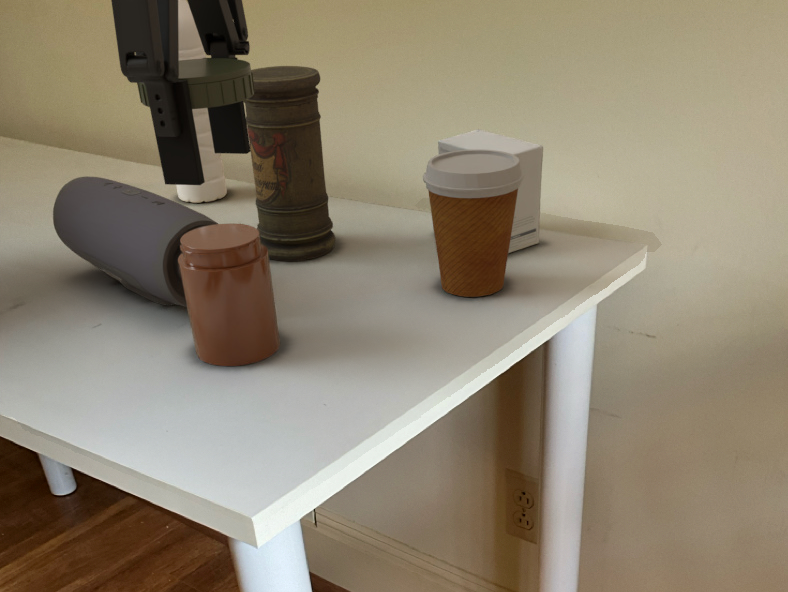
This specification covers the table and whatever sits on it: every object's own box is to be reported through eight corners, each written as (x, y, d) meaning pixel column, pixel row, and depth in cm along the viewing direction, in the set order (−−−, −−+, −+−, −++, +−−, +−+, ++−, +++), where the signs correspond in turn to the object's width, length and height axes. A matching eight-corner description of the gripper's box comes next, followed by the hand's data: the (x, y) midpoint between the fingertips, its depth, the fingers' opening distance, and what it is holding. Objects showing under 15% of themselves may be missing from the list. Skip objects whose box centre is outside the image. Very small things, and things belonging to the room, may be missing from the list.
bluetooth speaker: (252, 305, 88) (237, 202, 82) (171, 334, 83) (148, 227, 77) (138, 253, 101) (118, 161, 95) (62, 276, 97) (36, 180, 91)
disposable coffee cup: (495, 310, 85) (498, 179, 77) (408, 294, 89) (404, 169, 81) (534, 276, 91) (540, 153, 84) (451, 263, 95) (450, 144, 88)
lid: (271, 87, 65) (268, 58, 64) (226, 110, 59) (222, 79, 58) (173, 86, 67) (168, 57, 66) (120, 109, 61) (113, 78, 60)
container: (310, 229, 106) (293, 61, 95) (351, 248, 100) (338, 71, 89) (243, 247, 102) (217, 72, 91) (282, 267, 96) (259, 84, 85)
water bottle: (178, 205, 116) (136, -20, 101) (178, 191, 121) (138, -24, 106) (245, 199, 117) (213, -24, 102) (242, 185, 122) (211, -29, 107)
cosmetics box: (437, 234, 103) (435, 138, 96) (479, 222, 106) (480, 127, 99) (497, 257, 96) (500, 155, 89) (541, 243, 99) (546, 143, 92)
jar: (181, 362, 78) (157, 249, 72) (217, 327, 84) (198, 219, 78) (261, 369, 76) (243, 253, 70) (292, 333, 82) (278, 223, 76)
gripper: (110, -265, 43) (197, 211, 57) (265, -232, 59) (303, 134, 73) (-22, -253, 45) (93, 207, 58) (163, -224, 61) (219, 133, 74)
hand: (209, 166), depth 66 cm, fingers closed on lid, 8 cm apart
